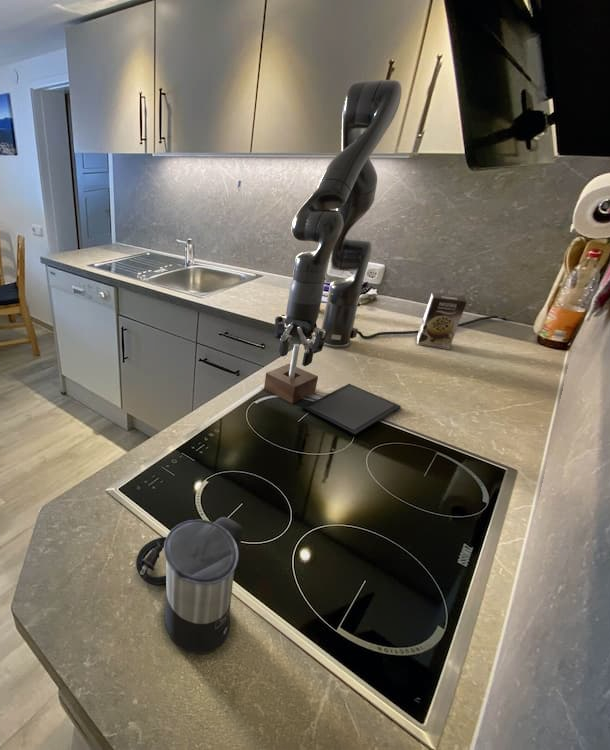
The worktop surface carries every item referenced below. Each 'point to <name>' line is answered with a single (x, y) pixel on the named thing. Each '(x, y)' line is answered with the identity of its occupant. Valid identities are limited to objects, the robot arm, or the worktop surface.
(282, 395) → the stand
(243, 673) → the worktop surface
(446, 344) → the brown upright rectangular box
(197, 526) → the milk frother
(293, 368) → the stylus
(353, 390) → the tablet
